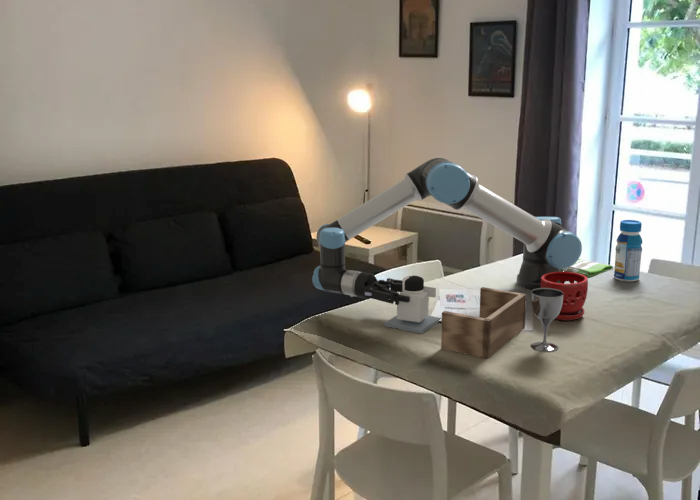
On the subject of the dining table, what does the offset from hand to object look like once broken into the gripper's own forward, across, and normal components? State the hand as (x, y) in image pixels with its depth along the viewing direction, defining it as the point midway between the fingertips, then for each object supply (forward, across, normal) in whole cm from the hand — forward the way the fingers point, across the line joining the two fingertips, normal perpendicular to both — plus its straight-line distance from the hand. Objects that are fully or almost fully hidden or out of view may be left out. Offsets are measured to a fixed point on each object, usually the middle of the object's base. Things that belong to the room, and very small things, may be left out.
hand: (428, 296), depth 208 cm
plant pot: (+29, -29, -9) cm, 42 cm away
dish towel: (+16, -83, -10) cm, 85 cm away
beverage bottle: (+36, -77, -9) cm, 86 cm away
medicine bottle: (-5, 0, -7) cm, 9 cm away
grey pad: (-5, 0, -9) cm, 10 cm away
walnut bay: (+17, 0, -9) cm, 19 cm away
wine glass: (+33, -2, -9) cm, 34 cm away
